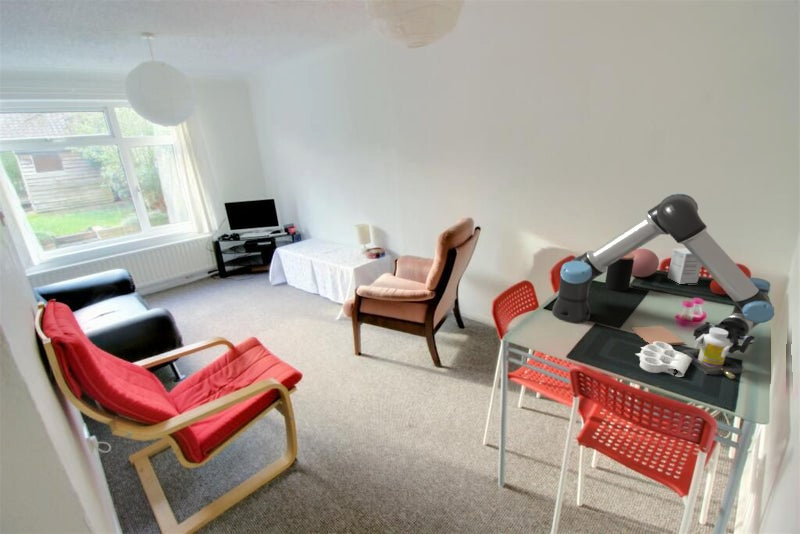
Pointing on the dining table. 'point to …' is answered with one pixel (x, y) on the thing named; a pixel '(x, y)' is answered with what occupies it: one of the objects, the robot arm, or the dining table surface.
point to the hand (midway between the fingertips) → (709, 348)
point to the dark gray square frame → (726, 370)
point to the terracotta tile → (657, 335)
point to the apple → (716, 288)
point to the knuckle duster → (663, 359)
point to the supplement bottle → (713, 347)
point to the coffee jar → (620, 273)
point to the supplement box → (684, 267)
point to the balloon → (644, 263)
